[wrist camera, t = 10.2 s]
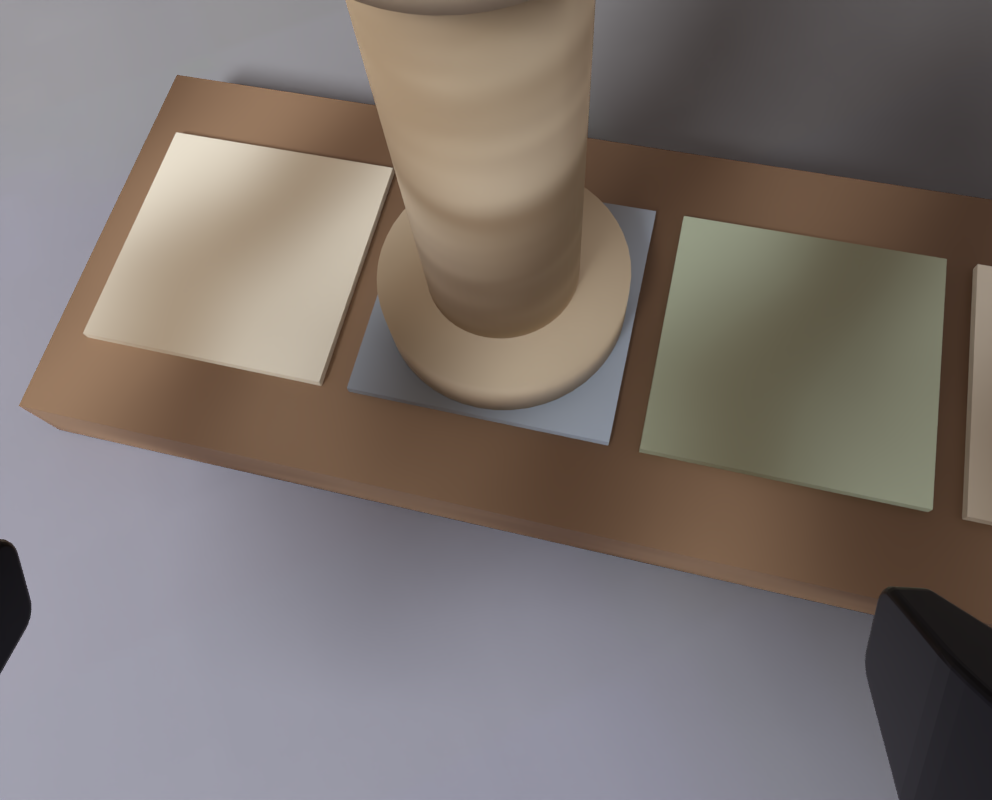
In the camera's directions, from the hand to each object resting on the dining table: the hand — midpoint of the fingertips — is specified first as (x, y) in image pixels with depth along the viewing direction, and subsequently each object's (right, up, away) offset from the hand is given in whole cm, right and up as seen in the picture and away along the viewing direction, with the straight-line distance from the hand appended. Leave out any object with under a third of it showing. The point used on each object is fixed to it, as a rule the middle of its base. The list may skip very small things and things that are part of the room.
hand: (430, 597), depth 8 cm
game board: (+4, +3, +10) cm, 11 cm away
